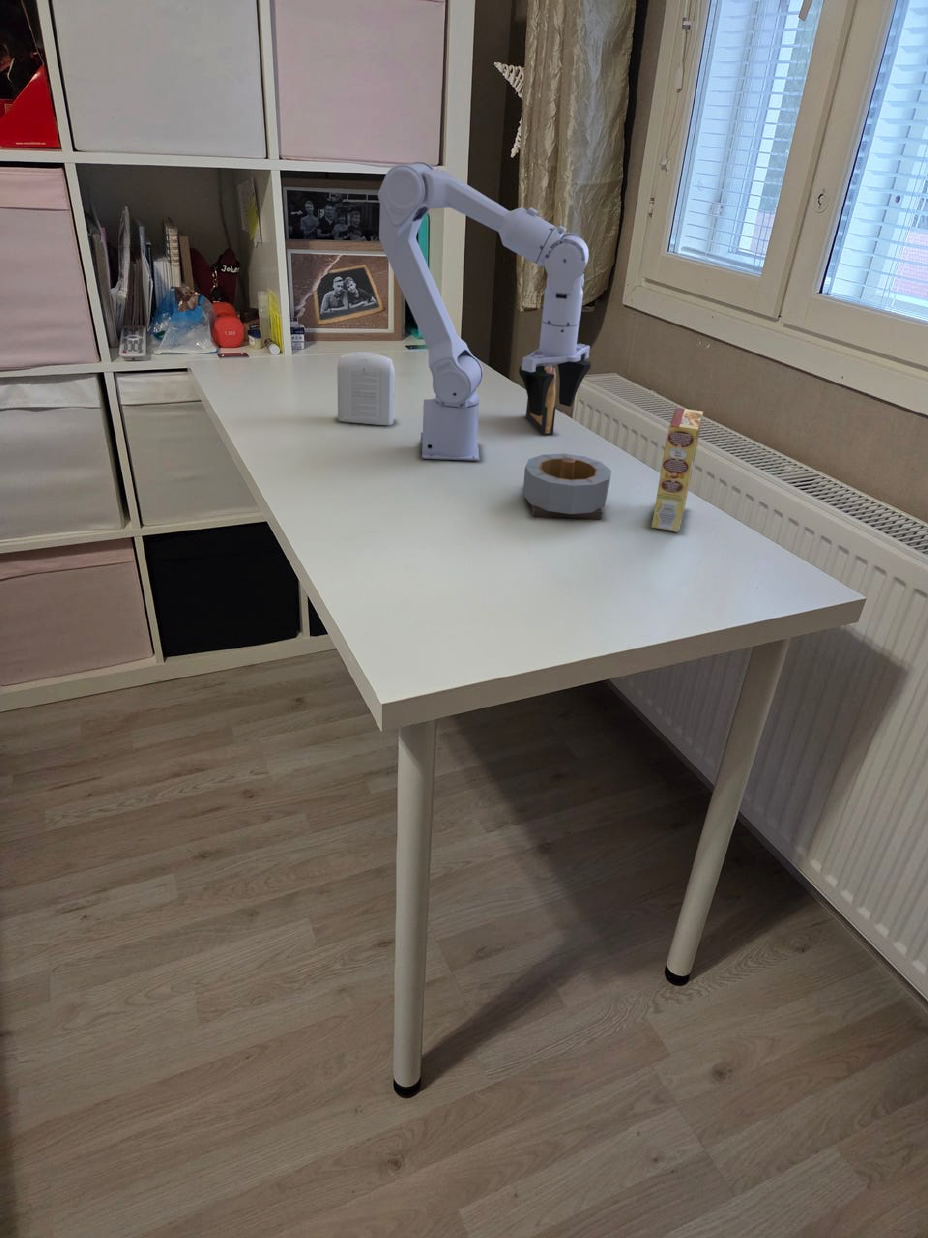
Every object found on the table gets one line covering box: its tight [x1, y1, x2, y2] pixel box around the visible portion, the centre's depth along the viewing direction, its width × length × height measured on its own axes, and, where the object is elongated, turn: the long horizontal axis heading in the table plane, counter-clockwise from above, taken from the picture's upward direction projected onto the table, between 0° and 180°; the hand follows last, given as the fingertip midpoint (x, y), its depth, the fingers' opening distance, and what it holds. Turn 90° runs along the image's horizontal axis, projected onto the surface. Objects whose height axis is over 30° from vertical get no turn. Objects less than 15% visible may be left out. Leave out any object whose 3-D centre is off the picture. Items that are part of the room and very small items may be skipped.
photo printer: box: [336, 351, 396, 426], centre depth 152 cm, size 10×4×12 cm, turn 86°
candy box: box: [651, 407, 704, 533], centre depth 121 cm, size 9×4×15 cm, turn 162°
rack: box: [530, 458, 603, 520], centre depth 126 cm, size 10×10×7 cm
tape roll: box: [521, 453, 612, 514], centre depth 126 cm, size 13×13×4 cm
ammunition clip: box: [525, 365, 557, 436], centre depth 155 cm, size 11×2×12 cm, turn 14°
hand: (551, 409), depth 136 cm, fingers open, 7 cm apart
